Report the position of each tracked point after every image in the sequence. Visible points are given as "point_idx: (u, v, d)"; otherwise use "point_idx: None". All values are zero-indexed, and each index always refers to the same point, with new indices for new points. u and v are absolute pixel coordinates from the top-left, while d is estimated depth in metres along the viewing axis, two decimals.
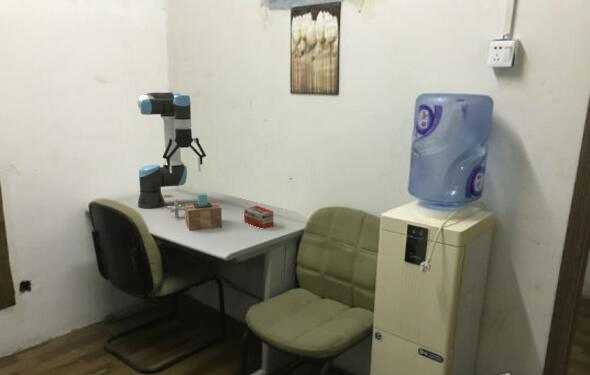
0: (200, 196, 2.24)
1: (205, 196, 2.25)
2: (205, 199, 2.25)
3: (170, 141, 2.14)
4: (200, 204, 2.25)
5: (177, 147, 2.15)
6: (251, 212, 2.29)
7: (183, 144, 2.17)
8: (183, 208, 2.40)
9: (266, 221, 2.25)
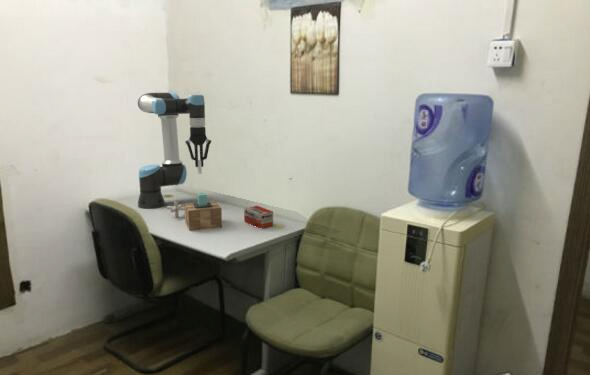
0: (200, 196, 2.24)
1: (205, 196, 2.25)
2: (205, 199, 2.25)
3: (187, 143, 2.24)
4: (200, 204, 2.25)
5: (196, 146, 2.25)
6: (251, 212, 2.29)
7: (197, 142, 2.25)
8: (183, 208, 2.40)
9: (266, 221, 2.25)
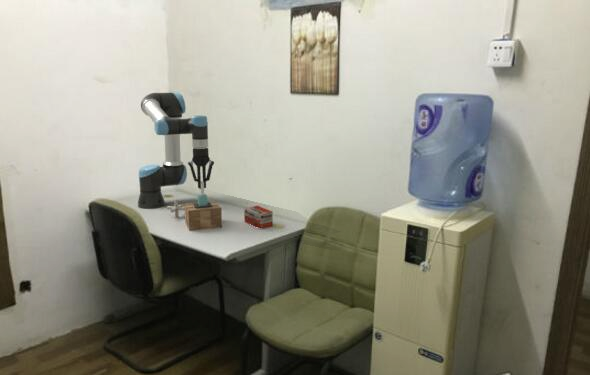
0: (200, 197, 2.24)
1: (205, 197, 2.25)
2: (205, 200, 2.26)
3: (190, 165, 2.20)
4: (200, 205, 2.25)
5: (199, 167, 2.21)
6: (250, 212, 2.29)
7: (200, 163, 2.22)
8: (183, 208, 2.40)
9: (265, 222, 2.25)
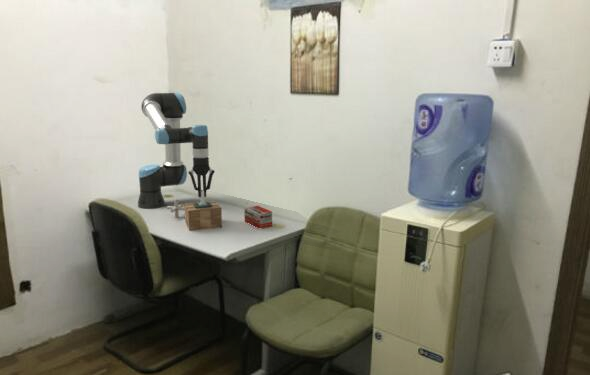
0: None
1: None
2: None
3: (190, 174, 2.21)
4: None
5: (199, 176, 2.22)
6: (250, 212, 2.29)
7: (200, 172, 2.23)
8: (183, 208, 2.40)
9: (264, 222, 2.25)
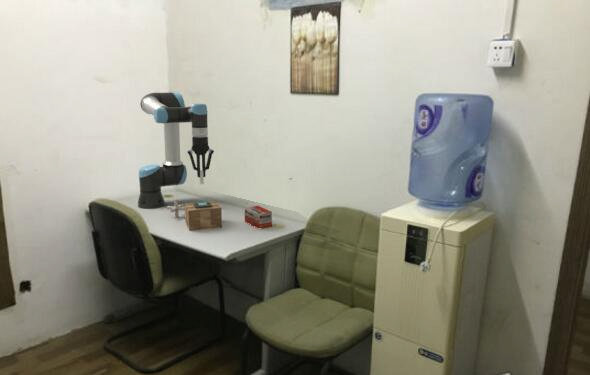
0: None
1: None
2: None
3: (189, 153, 2.19)
4: None
5: (198, 156, 2.20)
6: (250, 212, 2.29)
7: (200, 152, 2.21)
8: (183, 208, 2.40)
9: (264, 222, 2.25)
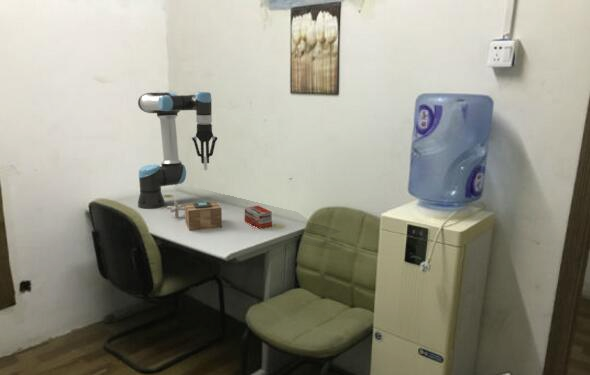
0: None
1: None
2: None
3: (194, 140, 2.27)
4: None
5: (202, 143, 2.28)
6: (250, 212, 2.29)
7: (204, 139, 2.28)
8: (183, 208, 2.40)
9: (264, 222, 2.25)
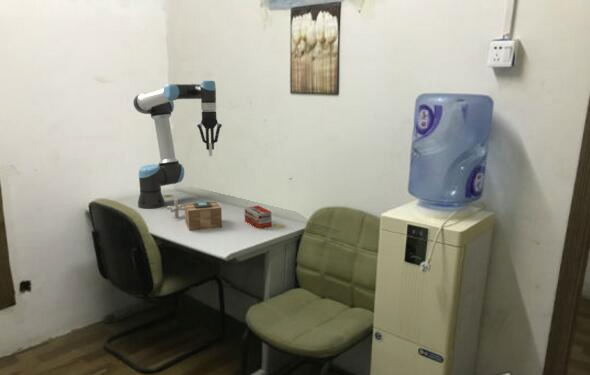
0: None
1: None
2: None
3: (199, 126, 2.35)
4: None
5: (207, 129, 2.37)
6: (250, 212, 2.29)
7: (209, 125, 2.37)
8: (183, 208, 2.40)
9: (263, 222, 2.25)
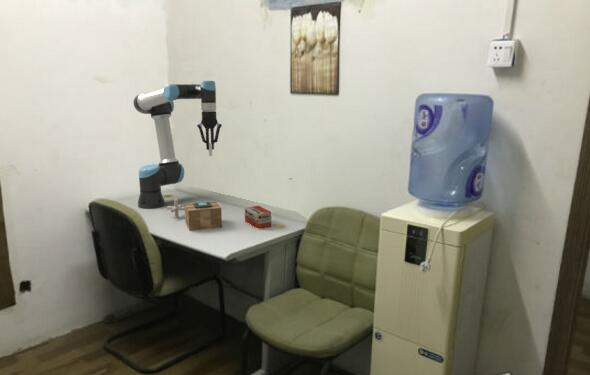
0: None
1: None
2: None
3: (199, 126, 2.35)
4: None
5: (207, 129, 2.37)
6: (249, 212, 2.30)
7: (209, 125, 2.37)
8: (183, 208, 2.40)
9: (263, 222, 2.25)
